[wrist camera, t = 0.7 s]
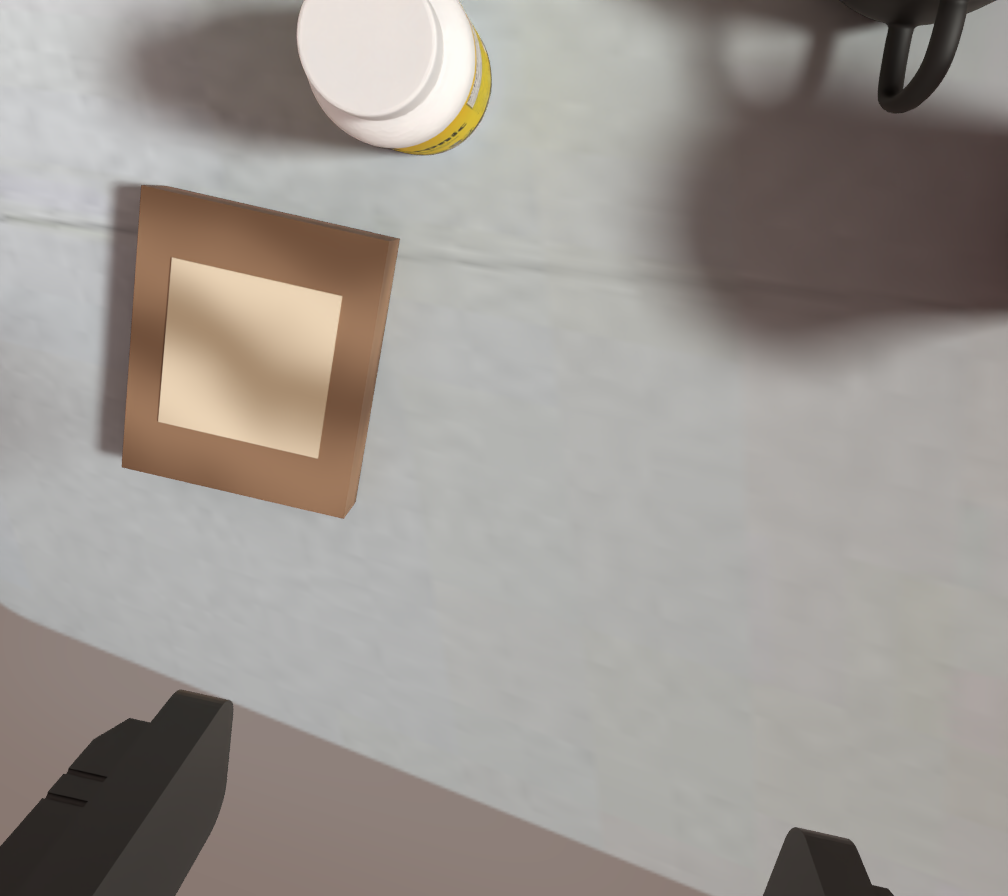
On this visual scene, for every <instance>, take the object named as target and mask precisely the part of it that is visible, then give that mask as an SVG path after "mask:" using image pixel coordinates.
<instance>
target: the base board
mask: <svg viewBox="0 0 1008 896" xmlns="http://www.w3.org/2000/svg"><path fill="white" fill-rule="evenodd" d="M399 240H400V239H398V238H394V237H389V236H385V235H381V234H376V233H372V232H367V231H363V230H359V229H354V228H350V227H345V226H341V225H337V224H332V223H328V222H323V221H319V220H314V219H310V218H306V217H301V216H297V215H292V214H288V213H284V212H279V211H275V210H270V209H266V208H261V207H257V206H253V205H248V204H244V203H239V202H235V201H231V200H226V199H222V198H217V197H213V196H209V195H204V194H200V193H195V192H191V191H186V190H182V189H178V188H173V187H169V186H154V185H141V197H140V211H139V226H138V240H137V254H136V269H135V283H134V297H133V312H132V326H131V340H130V354H129V369H128V383H127V397H126V412H125V426H124V440H123V455H122V467H123V468H128V469H132V470H136V471H140V472H145V473H149V474H153V475H158V476H162V477H166V478H171V479H175V480H179V481H184V482H188V483H192V484H196V485H201V486H205V487H209V488H214V489H218V490H222V491H227V492H231V493H235V494H239V495H244V496H248V497H252V498H257V499H261V500H265V501H270V502H274V503H278V504H283V505H287V506H291V507H295V508H300V509H304V510H308V511H313V512H317V513H321V514H326V515H330V516H334V517H339V518H343V519H344V517H345V516H346V515H347V513H348V512H349V511H350V509H351V508H352V506H353V505H354V504H355V502H356V496H357V490H358V484H359V478H360V472H361V466H362V460H363V454H364V448H365V442H366V437H367V431H368V425H369V419H370V413H371V407H372V401H373V395H374V389H375V383H376V377H377V371H378V365H379V359H380V353H381V347H382V341H383V335H384V330H385V324H386V318H387V312H388V306H389V300H390V294H391V288H392V282H393V276H394V270H395V264H396V258H397V252H398V246H399Z"/></svg>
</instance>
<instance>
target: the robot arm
mask: <svg viewBox="0 0 1008 896" xmlns="http://www.w3.org/2000/svg"><path fill="white" fill-rule="evenodd" d="M232 720H233V703H232V701H230V700H226V699H222V698H217V697H213V696H208V695H204V694H199V693H195V692H190V691H186V690H178V691H177V692H175V693H174V694H173V695H172V696H171V698H170V699H169V700H168V701H167V702H166V704H165V705H164V706H163V707H162V709H161V710H160V711H159V713H158V714H157V715H156V716H155V718H154V719H153V720H152V721H151V723H149V722H145V721H140V720H136V719H131V718H129V719H127V720H125V721H124V722H122V723H120V724H119V725H117V726H115V727H114V728H112V729H110V730H109V731H107V732H105V733H104V734H102V735H101V736H98V737H97V738H95V739H94V740H93V741H92V742H91V743H90V744H89V745H88V747H87V748H86V749H85V750H84V751H83V752H82V754H80V756H79V757H78V758H77V759H76V760H75V761H74V763H73V764H72V765H71V766H70V767H69V769H68V772H67V774H63V775H62V776H61V777H60V779H59V780H58V781H57V782H56V783H55V784H54V785H53V787H52V788H51V789H50V790H49V791H48V794H47V796H46V798H45V799H43V798H42V799H41V800H40V802H39V803H38V804H37V805H36V806H35V807H34V809H33V810H32V811H31V812H30V813H29V814H28V815H27V816H26V818H25V819H24V820H23V821H22V822H21V823H20V825H19V826H18V827H17V828H16V829H15V830H14V831H13V833H12V834H11V835H10V836H9V837H8V838H7V839H6V841H5V842H4V843H3V844H2V845H1V846H0V896H175V895H176V893H177V892H178V890H179V888H180V886H181V884H182V883H183V881H184V879H185V877H186V876H187V874H188V872H189V870H190V869H191V867H192V865H193V863H194V862H195V860H196V858H197V856H198V855H199V853H200V851H201V849H202V847H203V846H204V844H205V842H206V840H207V839H208V837H209V835H210V833H211V831H212V829H213V827H214V825H215V822H216V820H217V818H218V814H219V812H220V809H221V805H222V802H223V799H224V795H225V790H226V782H227V772H228V762H229V752H230V740H231V731H232ZM763 896H894V895H893V894H892V893H891V892H890V890H889V889H887V888H883V887H878V886H874V885H872V884H871V882H870V879H869V877H868V875H867V872H866V870H865V867H864V865H863V862H862V860H861V858H860V855H859V853H858V850H857V848H856V846H855V845H854V843H853V842H852V841H851V840H849V839H847V838H842V837H838V836H833V835H829V834H824V833H820V832H815V831H811V830H806V829H802V828H797V827H795V828H792V829H791V830H790V831H789V833H788V834H787V836H786V838H785V841H784V843H783V846H782V848H781V851H780V853H779V856H778V858H777V861H776V864H775V866H774V869H773V871H772V874H771V876H770V879H769V881H768V884H767V887H766V889H765V892H764V894H763Z"/></svg>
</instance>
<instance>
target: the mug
mask: <svg viewBox="0 0 1008 896" xmlns="http://www.w3.org/2000/svg"><path fill="white" fill-rule="evenodd" d="M840 1H841V2H842V3H844V4H845V5H847V6H848V7H850V8H851V9H853V10H854V11H856V12H858V13H860V14H862V15H864V16H866V17H868V18H871V19H874V20H877V21H880V22H883V23H886V24H887V25H888V33H887V38H886V43H885V48H884V53H883V58H882V64H881V70H880V77H879V85H878V101H879V104H880V106H881V107H882V108H883V109H884V110H886V111H887V112H890V113H904V112H907V111H910V110H912V109H914V108H916V107H917V106H919V105H920V104H921V103H922V102H924V101H925V100H926V99H927V98H928V97H929V96H930V95H931V94H932V93H933V92H934V91H935V90H936V88H937V87H938V86H939V84H940V83H941V82H942V80H943V78H944V77H945V75H946V73H947V71H948V69H949V68H950V65H951V63H952V61H953V58H954V56H955V53H956V50H957V47H958V44H959V41H960V37H961V34H962V30H963V26H964V22H965V18H966V14H967V13H969V12H972V11H974V10H977V9H979V8H981V7H983V6H985V5H987V4H990V3H992V2H994V1H996V0H840ZM928 24H934V27H933V31H932V35H931V38H930V42H929V45H928V48H927V51H926V54H925V57H924V59H923V62H922V64H921V66H920V68H919V69H918V71H917V73H916V74H915V76H914V77H913V79H912V80H911V81H910V83H909V84H908V85H907V86H906V87H905V88H904V89H903V85H904V78H905V71H906V65H907V59H908V54H909V49H910V44H911V39H912V34H913V31H914V28H915V27H917V26H920V25H928Z"/></svg>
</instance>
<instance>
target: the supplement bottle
mask: <svg viewBox="0 0 1008 896" xmlns="http://www.w3.org/2000/svg"><path fill="white" fill-rule="evenodd" d="M297 47H298V54H299V57H300V61H301V64H302V67H303V69H304V71H305V74H306V76H307V77H308V81H309V84H310V87H311V89H312V92H313V94H314V96H315V98H316V100H317V101H318V103H319V105H320V106H321V108H322V109H323V111H324V112H325V113H326V115H327V116H328V117H329V118H330V119H331V120H332V121H333V122H334V123H335V124H336V125H337V126H338V127H339V128H340V129H342V130H343V131H344V132H346V133H347V134H349V135H350V136H352V137H354V138H356V139H358V140H360V141H362V142H365V143H367V144H370V145H372V146H376V147H382V148H386V149H392V150H395V151H400V152H404V153H408V154H414V155H434V154H439V153H443V152H446V151H449V150H451V149H453V148H455V147H457V146H459V145H460V144H461V143H463V142H464V141H465V140H467V139H468V138H469V137H470V136H471V135H472V134H473V132H474V131H475V130H476V129H477V128H478V126H479V124H480V123H481V121H482V119H483V117H484V115H485V113H486V110H487V107H488V104H489V101H490V96H491V88H492V76H491V67H490V62H489V58H488V54H487V51H486V48H485V46H484V44H483V42H482V40H481V38H480V36H479V35H478V33H477V31H476V30H475V28H474V26H473V25H472V23H471V21H470V19H469V18H468V16H467V14H466V12H465V11H464V9H463V7H462V5H461V4H460V2H459V1H458V0H304V1H303V4H302V6H301V9H300V13H299V17H298V23H297Z"/></svg>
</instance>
